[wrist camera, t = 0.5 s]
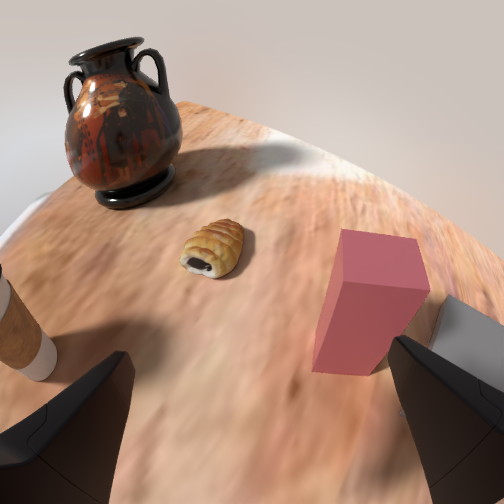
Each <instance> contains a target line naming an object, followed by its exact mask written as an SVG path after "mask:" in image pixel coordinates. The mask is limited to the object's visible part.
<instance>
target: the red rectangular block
mask: <svg viewBox="0 0 504 504" xmlns="http://www.w3.org/2000/svg"><path fill="white" fill-rule="evenodd" d="M429 292H430V286H429V282H428V278H427V274H426V270H425V267H424V263H423V260H422V256H421V253H420V250H419V246H418V243H417V240H416V239H412V238H405V237H398V236H391V235H384V234H377V233H369V232H362V231H354V230H346V229H341V234H340V238H339V243H338V247H337V252H336V256H335V261H334V265H333V269H332V273H331V277H330V281H329V285H328V289H327V293H326V297H325V301H324V304H323V308H322V312H321V315H320V319H319V322H318V326H317V329H316V336H315V346H314V355H313V364H312V372H321V373H331V374H344V375H359V376H368V375H369V374H370V373H371V372H372V371H373V370H374V368H375V367H376V366H377V365H378V363H379V362H380V361H381V360H382V359H383V357H384V356H385V355H386V353H387V352H388V351H389V349H390V346H391V343H392V340H393V338H394V337H396V336H400V335H401V334H402V332H403V331H404V329H405V328H406V327H407V325H408V324H409V322H410V321H411V320H412V318H413V317H414V315H415V314H416V312H417V311H418V309H419V308H420V306H421V305H422V303H423V301H424V300H425V298H426V297H427V295H428V294H429Z"/></svg>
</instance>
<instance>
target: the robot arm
mask: <svg viewBox="0 0 504 504" xmlns="http://www.w3.org/2000/svg"><path fill="white" fill-rule="evenodd" d="M388 362H389V365H390V369H391V372H392V376H393V380H394V383H395V387H396V391H397V394H398V397H399V400H400V403H401V405H402V408H403V411H404V413H405V416H406V419H407V421H408V424H409V427H410V430H411V433H412V436H413V438H414V441H415V444H416V447H417V450H418V453H419V457H420V460H421V463H422V466H423V469H424V473H425V476H426V480H427V483H428V487H429V491H430V495H431V498H432V502H433V504H504V392H502V391H500V390H498V389H496V388H495V387H493V386H491V385H489V384H487V383H486V382H484V381H482V380H481V379H478V378H477V377H475V376H474V375H472V374H470V373H469V372H467V371H465V370H464V369H462V368H460V367H458V366H457V365H455V364H453V363H452V362H450V361H448V360H447V359H445V358H443V357H441V356H440V355H438V354H436V353H435V352H433V351H431V350H430V349H428V348H426V347H424V346H423V345H421V344H419V343H418V342H416V341H414V340H412V339H411V338H409V337H407V336H405V335H401V336H396V337H394V338H393V340H392V343H391V346H390V349H389V352H388ZM134 378H135V368H134V365H133V363H132V361H131V358H130V356H129V354H128V352H126V351H115V352H113V353H112V354H111V355H109V356H108V357H107V358H105V359H104V360H103V361H102V362H100V363H99V364H98V365H96V366H95V367H94V368H92V369H91V370H90V371H88V372H87V373H86V374H84V375H83V376H82V377H80V378H79V379H78V380H76V381H75V382H74V383H72V384H71V385H70V386H68V387H67V388H66V389H64V390H63V391H62V392H61V393H59V394H58V395H57V396H55V397H54V398H53V399H51V400H50V401H49V402H48V404H47V403H46V404H45V405H43V406H42V407H41V408H39V409H38V410H37V411H35V412H34V413H32V414H31V415H30V416H28V417H26V418H25V419H23V420H22V421H20V422H19V423H17V424H15V425H14V426H12V427H10V428H9V429H7V430H5V431H4V432H2V433H1V434H0V504H109V499H110V493H111V488H112V483H113V478H114V473H115V468H116V464H117V459H118V455H119V450H120V446H121V442H122V438H123V434H124V430H125V426H126V422H127V418H128V414H129V409H130V403H131V397H132V390H133V384H134Z"/></svg>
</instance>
